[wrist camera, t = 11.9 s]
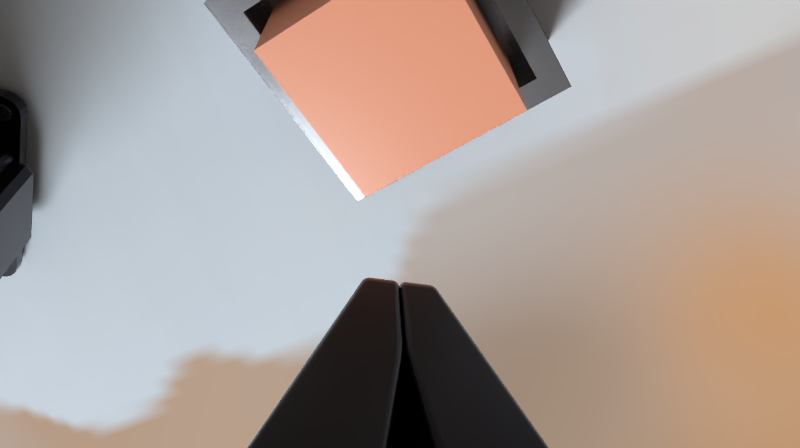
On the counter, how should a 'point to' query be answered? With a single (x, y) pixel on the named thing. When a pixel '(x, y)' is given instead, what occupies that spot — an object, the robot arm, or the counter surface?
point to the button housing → (501, 4)
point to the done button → (390, 79)
